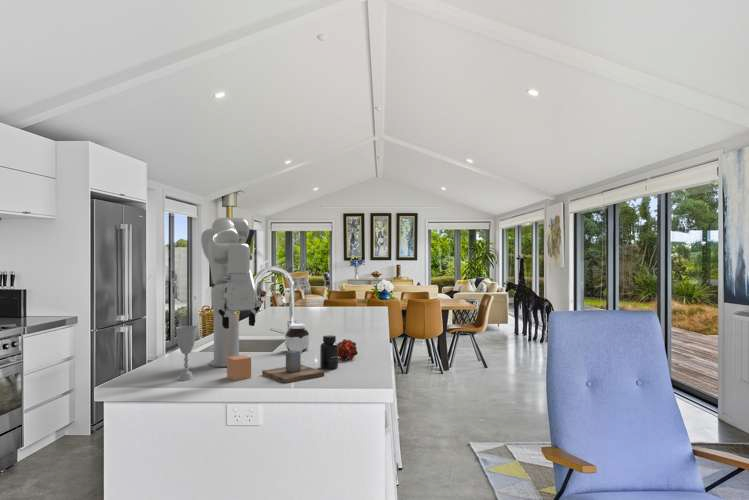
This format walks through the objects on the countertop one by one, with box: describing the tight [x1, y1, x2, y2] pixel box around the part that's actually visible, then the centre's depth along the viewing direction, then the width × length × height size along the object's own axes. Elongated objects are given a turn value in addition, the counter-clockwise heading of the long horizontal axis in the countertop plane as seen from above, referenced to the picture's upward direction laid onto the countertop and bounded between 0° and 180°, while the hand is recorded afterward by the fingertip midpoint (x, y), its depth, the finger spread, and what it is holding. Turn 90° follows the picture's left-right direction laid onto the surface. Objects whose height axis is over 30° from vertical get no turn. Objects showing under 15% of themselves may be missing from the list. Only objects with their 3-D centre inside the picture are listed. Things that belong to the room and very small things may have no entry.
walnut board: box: [261, 364, 325, 384], centre depth 189 cm, size 16×16×2 cm
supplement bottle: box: [319, 335, 339, 370], centre depth 202 cm, size 7×7×12 cm
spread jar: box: [285, 323, 310, 353], centre depth 235 cm, size 12×11×12 cm
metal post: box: [285, 350, 302, 373], centre depth 190 cm, size 4×4×7 cm
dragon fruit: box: [337, 338, 359, 361], centre depth 218 cm, size 8×8×12 cm
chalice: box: [174, 325, 198, 381], centre depth 185 cm, size 7×7×18 cm
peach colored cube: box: [226, 354, 252, 381], centre depth 187 cm, size 6×6×7 cm
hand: (239, 326), depth 187 cm, fingers open, 9 cm apart
